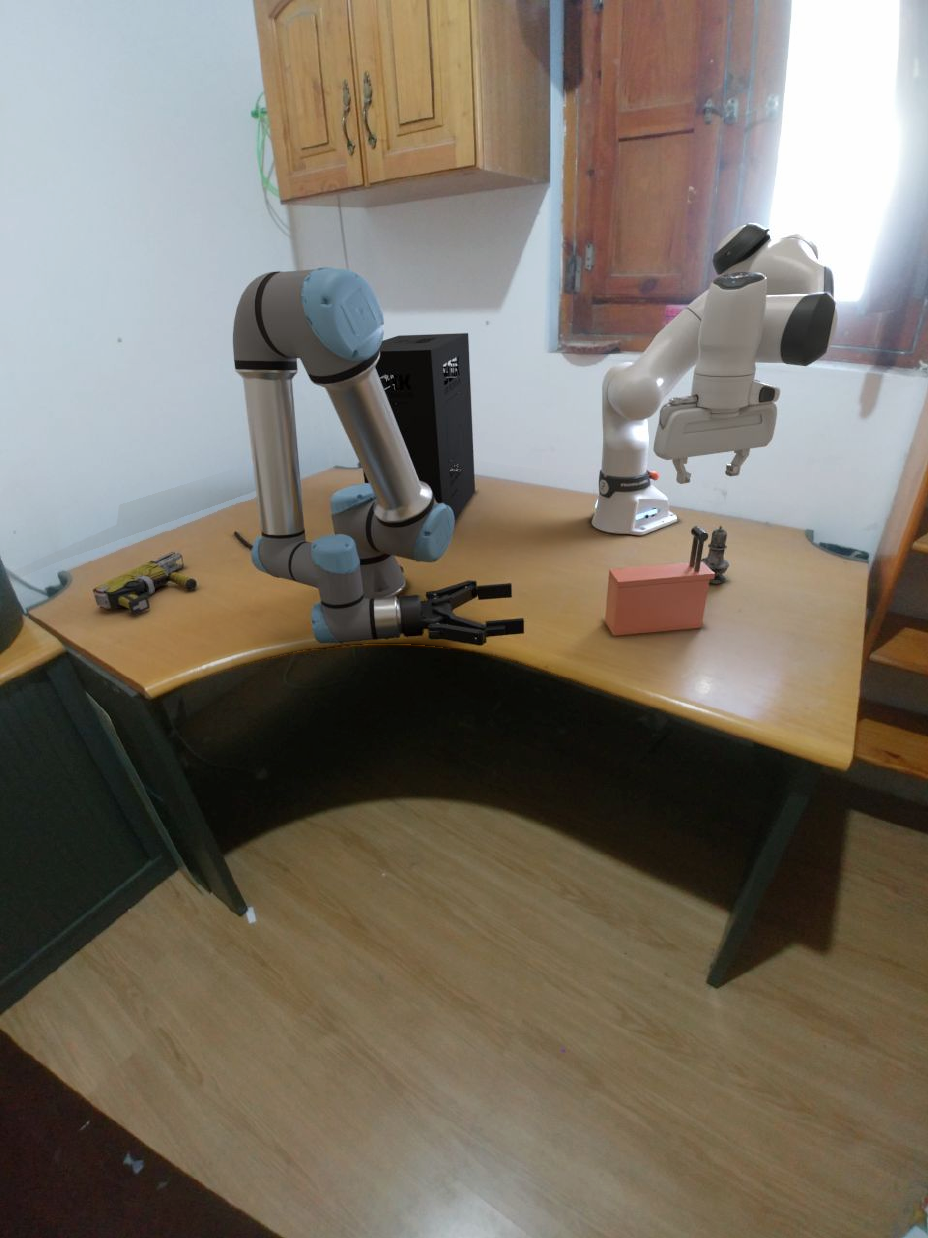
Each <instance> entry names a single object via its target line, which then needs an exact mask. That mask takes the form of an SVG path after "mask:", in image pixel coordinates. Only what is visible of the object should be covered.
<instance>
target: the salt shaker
mask: <svg viewBox="0 0 928 1238" xmlns="http://www.w3.org/2000/svg"><path fill="white" fill-rule="evenodd" d="M727 537H728V532H727V531H726V530H725V529H723V526H722V525H720V526H718V528H717V529H714V530H713V531H712V532H711V539H710V543H709V544H708V554H707V556H706V557H703V558H701V561H702V562H703V563H705V564H706V565H707V566H708V567H709V568H710V569H711V570H712V571H713V572H714V573H715V577H714V579H709V584H714V585H715V584H721V583H724V582H726V577H725V576H724V575H723V574H725V573H726V571H727V570H728V568H729V567H730V563H729V561H728V560H727V559H725V550H727V548H728V546H727V545H726V543H727Z"/></svg>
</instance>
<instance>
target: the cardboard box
mask: <svg viewBox="0 0 928 1238" xmlns="http://www.w3.org/2000/svg"><path fill="white" fill-rule="evenodd" d="M469 341H470V340H469V332H462V333H461V332H460V333H459V332H458V333H457V332H455V333H434V334H433V333H432V334H407V335H406V334H405V335H404V334H403V335H396V336H393V337H390V338H387V339H383V340H382V343H381V346H380V348H379V351H380V357H379V360H378V362H377V364H376V366H375V368H376V370H377V373H378V375H379V378H380V381H381V383H382V386H383V388H384V391H385V394H386V396H387V399H388V401H389V404H390V407H391V409H392V412H393V414H394V417H395V419H396V422H397V425H398V427H399V430H400V432H401V435H402V438H403V440H404V443H405V445H406V448H407V450H408V453H409V456H410V458H411V461H412V463H413V466H414V469H415V471H416V474H417V476H418V479H419V481H422V482H425V483H426V484H428V485H429V487H430V488H431V490H432V493H433V495H434V498H435V501H436V502H437V503H439V504H440V503H444V504H445V505H448V506H449V507H450V508H451V509H452V511H453V514H454V520H455V522H456V521H457V520H458V518H459V517H460V515H461V513H462V512H463V510H464V509H465V507H466V506H467V504H468V503H469V501H470V500H471V499H472V497H473V495H474V494H475V492H476V482H475V480H476V477H475V459H474V457H475V455H474V432H473V412H472V410H473V409H472V388H471V387H472V386H471V367H470V366H471V365H470V364H471V363H470V344H469V343H470V342H469ZM449 363H450V364H449ZM362 474H363V481H364V484H365V483H369V481H368V479H367V477H366V475H365V473H364V471H363V470H362Z"/></svg>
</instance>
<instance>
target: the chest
mask: <svg viewBox="0 0 928 1238" xmlns="http://www.w3.org/2000/svg"><path fill="white" fill-rule="evenodd" d="M709 586H710V583H709V579H708V580H697V581H686V582H674V583H663V584H652V585H641V586H629V587H617V586H616V584H615V583H614V581H613V580H612V579H611V577H610V576H609V575H608V580H607V593H606V604H605V617H604V618H605V619H604V623H605V624H606V626H607V627H608V629H609V631H610V632H611V634H612V636H614V637H615V636H626V635H627V636H628V635H637V634H648V633H659V632H670V631H678V630H679V631H680V630H690V629H702V626H703V622H704V621H703V620H704V615H705V608H706V604H707V596H708V591H709Z"/></svg>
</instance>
